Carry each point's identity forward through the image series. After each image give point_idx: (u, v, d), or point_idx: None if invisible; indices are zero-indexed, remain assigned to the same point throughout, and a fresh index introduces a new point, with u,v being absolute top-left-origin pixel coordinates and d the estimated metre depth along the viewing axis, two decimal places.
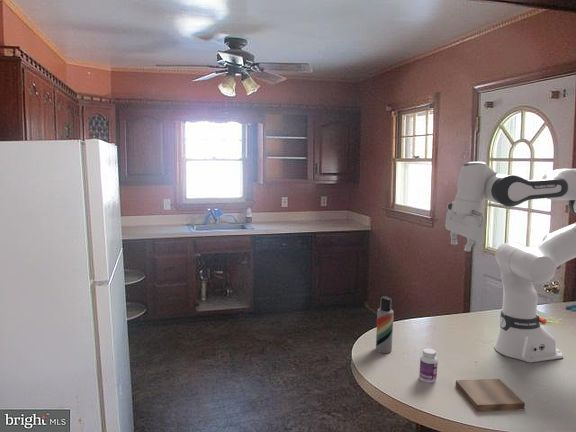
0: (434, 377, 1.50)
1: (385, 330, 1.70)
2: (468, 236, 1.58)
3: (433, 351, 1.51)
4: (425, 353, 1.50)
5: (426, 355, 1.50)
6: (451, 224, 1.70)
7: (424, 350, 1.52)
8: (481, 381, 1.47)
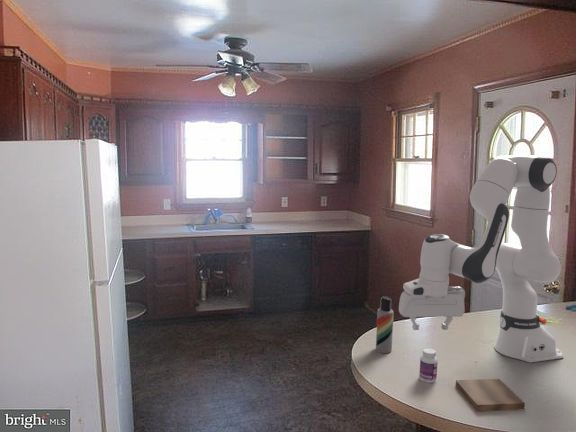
0: (434, 377, 1.50)
1: (385, 330, 1.70)
2: (455, 314, 1.48)
3: (433, 351, 1.51)
4: (425, 353, 1.50)
5: (426, 355, 1.50)
6: (417, 309, 1.47)
7: (424, 350, 1.52)
8: (481, 381, 1.47)
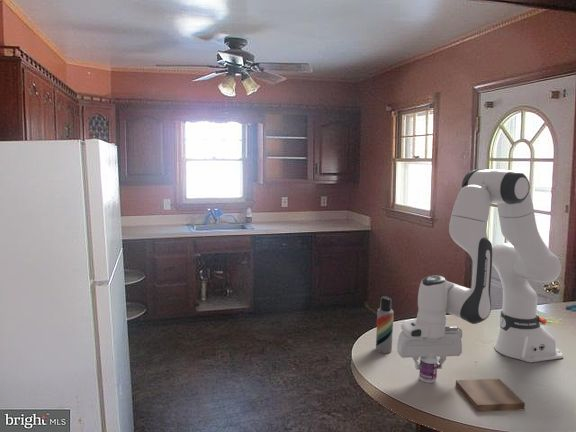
0: (434, 377, 1.50)
1: (385, 330, 1.70)
2: (453, 354, 1.50)
3: None
4: None
5: None
6: (415, 350, 1.49)
7: None
8: (481, 381, 1.47)
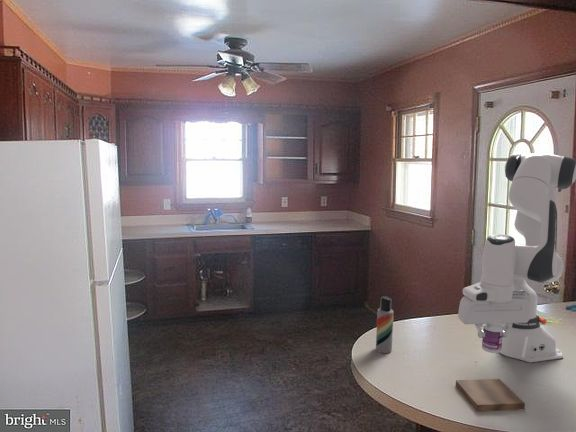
0: (499, 347, 1.38)
1: (385, 330, 1.70)
2: (520, 321, 1.38)
3: None
4: None
5: None
6: (479, 316, 1.36)
7: None
8: (481, 381, 1.47)
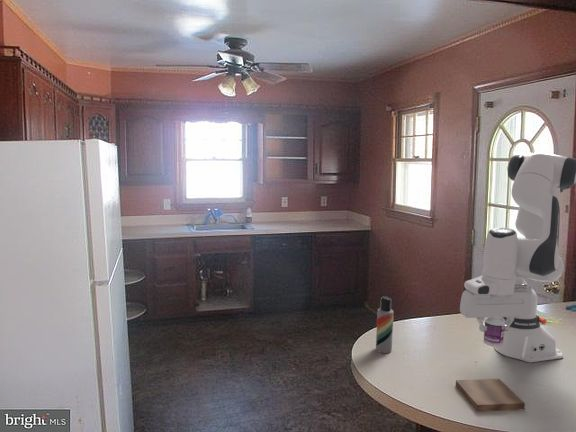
0: (501, 341, 1.37)
1: (385, 330, 1.70)
2: (522, 314, 1.37)
3: None
4: None
5: None
6: (481, 310, 1.36)
7: None
8: (481, 381, 1.47)
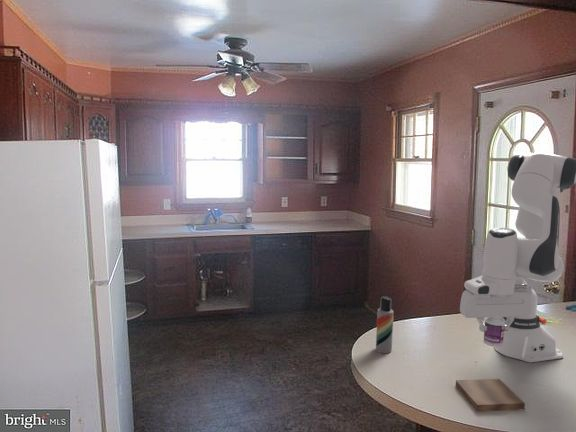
0: (501, 341, 1.37)
1: (385, 330, 1.70)
2: (522, 314, 1.37)
3: None
4: None
5: None
6: (481, 310, 1.36)
7: None
8: (481, 381, 1.47)
